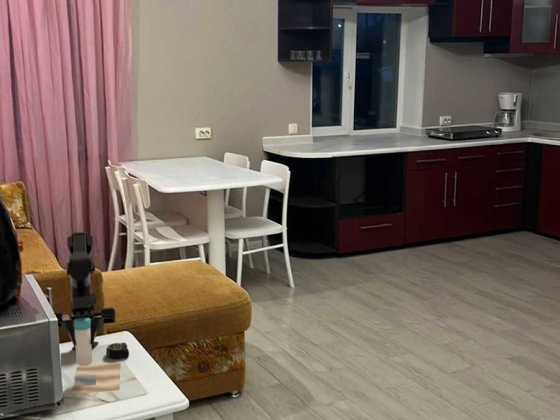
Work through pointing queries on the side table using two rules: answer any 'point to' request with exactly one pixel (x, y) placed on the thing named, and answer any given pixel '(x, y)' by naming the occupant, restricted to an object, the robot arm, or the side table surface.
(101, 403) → the side table surface
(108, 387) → the board
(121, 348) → the tape measure
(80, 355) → the ball
